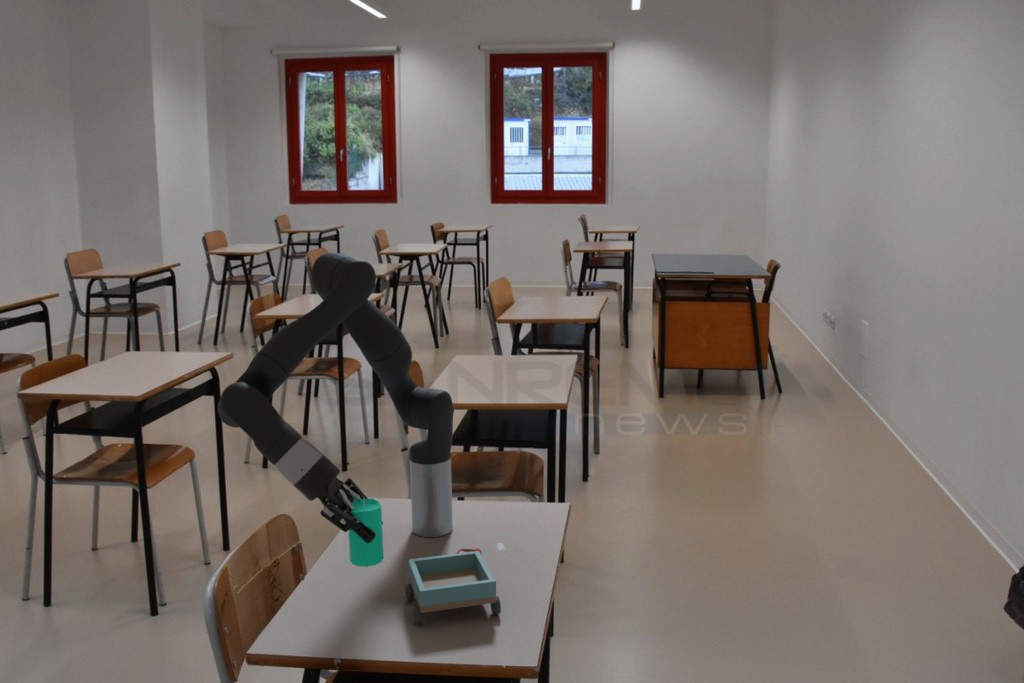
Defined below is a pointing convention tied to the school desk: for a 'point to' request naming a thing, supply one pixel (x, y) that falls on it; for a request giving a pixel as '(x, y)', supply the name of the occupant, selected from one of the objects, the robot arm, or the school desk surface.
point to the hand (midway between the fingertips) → (375, 533)
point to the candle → (372, 519)
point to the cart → (450, 583)
